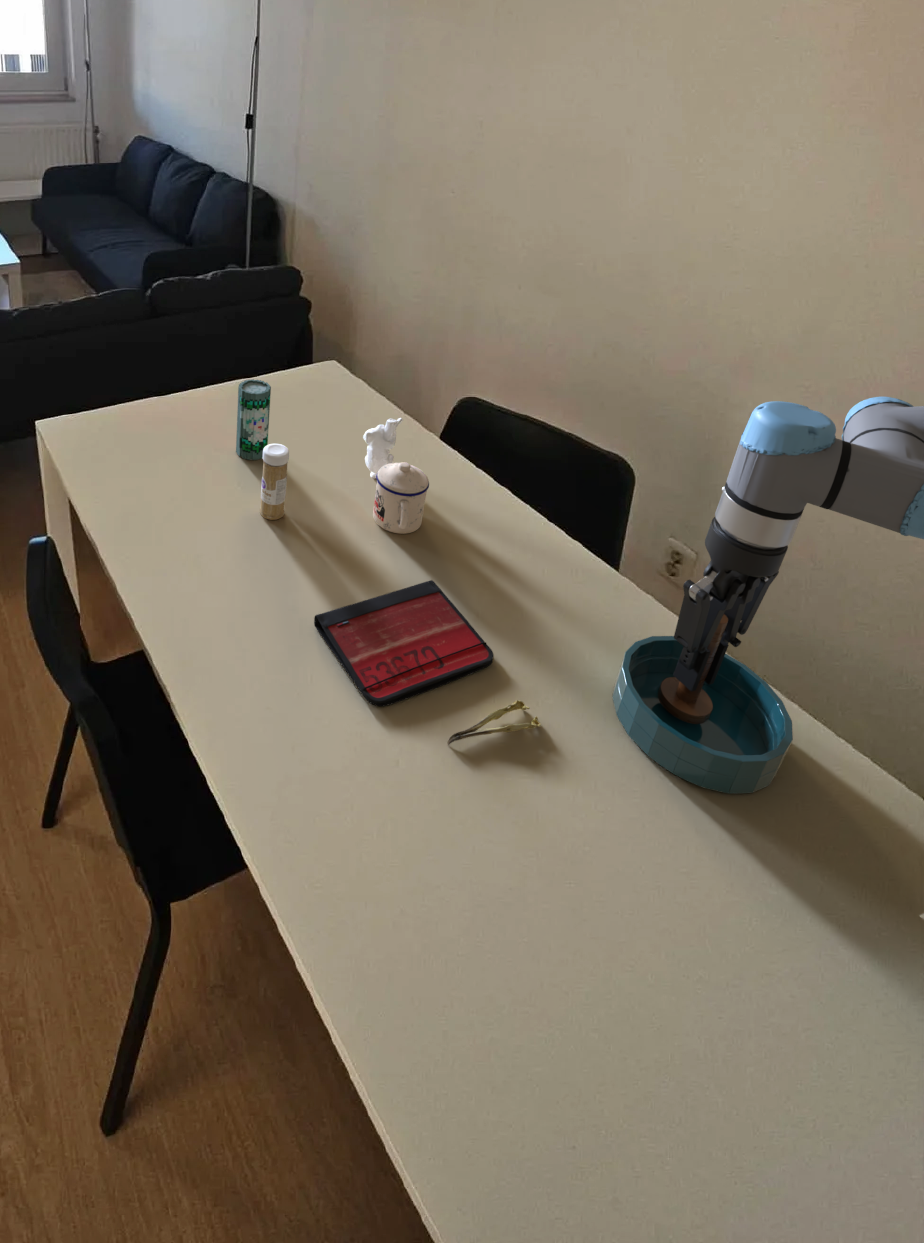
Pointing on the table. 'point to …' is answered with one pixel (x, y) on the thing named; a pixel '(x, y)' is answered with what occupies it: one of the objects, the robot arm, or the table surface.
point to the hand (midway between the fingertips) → (693, 678)
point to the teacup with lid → (400, 497)
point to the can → (252, 418)
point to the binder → (403, 643)
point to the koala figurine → (380, 445)
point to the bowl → (720, 747)
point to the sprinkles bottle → (274, 481)
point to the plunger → (697, 702)
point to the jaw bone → (494, 716)
